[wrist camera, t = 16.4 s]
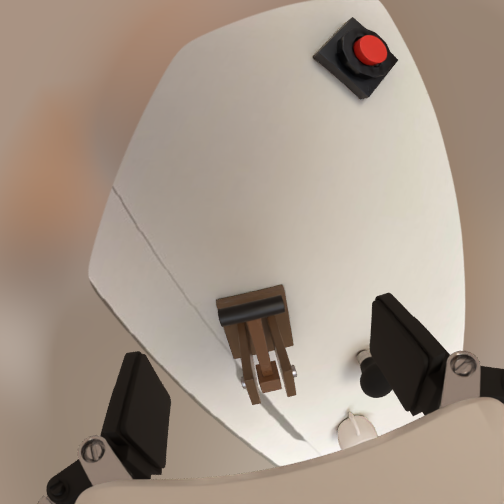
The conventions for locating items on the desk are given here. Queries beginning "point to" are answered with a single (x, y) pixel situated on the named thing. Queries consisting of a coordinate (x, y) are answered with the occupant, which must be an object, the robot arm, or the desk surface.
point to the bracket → (275, 336)
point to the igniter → (353, 60)
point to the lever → (257, 334)
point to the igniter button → (370, 50)
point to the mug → (355, 431)
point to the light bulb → (372, 377)
